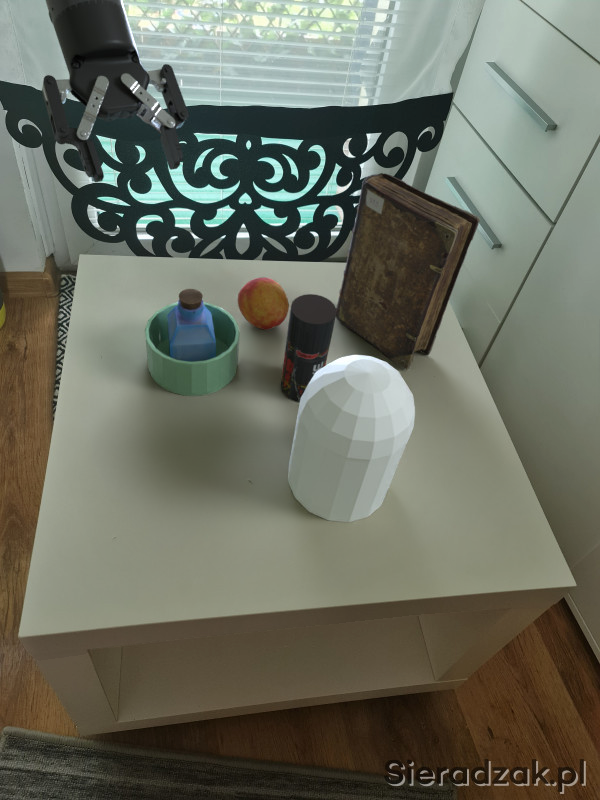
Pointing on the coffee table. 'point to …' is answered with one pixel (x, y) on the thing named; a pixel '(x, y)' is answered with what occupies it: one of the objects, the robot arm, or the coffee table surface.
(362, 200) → the book
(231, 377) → the green bowl
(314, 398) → the white dome-topped cylinder
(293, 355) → the deodorant
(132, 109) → the robot arm
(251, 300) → the fruit
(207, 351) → the perfume bottle
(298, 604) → the coffee table surface
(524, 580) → the coffee table surface
